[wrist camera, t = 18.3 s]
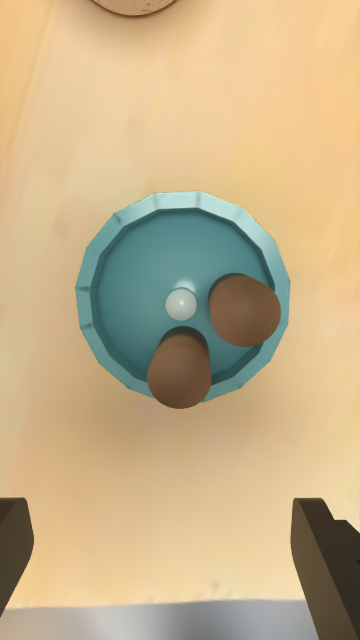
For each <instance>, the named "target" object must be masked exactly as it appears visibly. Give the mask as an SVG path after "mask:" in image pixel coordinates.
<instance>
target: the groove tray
mask: <svg viewBox="0 0 360 640" xmlns="http://www.w3.org/2000/svg"><path fill="white" fill-rule="evenodd" d="M229 273H241V274H245V275H247V276H249V277H251V278H253V279H255V280H258V281H260V282H262V283H264V284H266V285H267V286H269V287H270V288H271V289H272V290H273V291H274V292H275V294H276V295H277V297H278V299H279V302H280V306H281V318H280V322H279V325H278V327H277V329H276V331H275V332H274V333H273V334H272V336H271V337H270V338H268V339H267V340H266V341H264V342H263V343H261V344H258V345H256V346H251V347H238V346H234V345H231V344H229V343H227V342H226V341H224V340H223V339H222V338H221V337H220V336H219V335H218V334H217V332H216V331H215V329H214V327H213V324H212V320H211V315H210V310H209V305H208V293H209V290H210V288H211V286H212V285H213V283H214V282H215V281H216V280H217V279H218V278H220V277H221V276H223V275H225V274H229ZM75 289H76V298H77V306H78V315H79V323H80V329H81V331H82V333H83V334H84V336H85V338H86V340H87V342H88V344H89V346H90V347H91V349H92V351H93V353H94V355H95V357H96V359H97V360H98V363H100V364H101V365H102V366H103V367H104V368H105V369H106V370H108V371H109V372H110V373H111V374H112V375H113V376H115V377H116V378H117V379H118V380H119V381H120V382H122V383H123V384H124V385H125V386H126V387H127V388H129V389H131V390H134V391H137V392H139V393H142V394H145V395H147V396H150V397H153V398H155V397H154V396H153V395H152V393H151V391H150V389H149V387H148V383H147V373H148V369H149V366H150V364H151V362H152V359H153V357H154V355H155V352H156V350H157V348H158V345H159V343H160V341H161V339H162V337H163V335H164V334H165V333H166V332H167V331H169V330H170V329H172V328H175V327H178V326H188V327H192V328H194V329H196V330H198V331H199V332H200V333H202V335H203V336H204V337H205V339H206V341H207V343H208V349H209V359H210V368H211V378H212V380H211V387H210V390H209V392H208V394H207V395H206V397H205V398H204V399H203V400H202V401H201V402H205V401H207V400H210V399H213V398H215V397H218V396H220V395H223V394H226V393H228V392H231V391H234V390H236V389H239V388H241V387H242V386H243V385H244V384H245V383H246V382H248V381H249V380H250V379H251V378H252V377H253V376H254V375H255V374H256V373H257V372H259V371H260V370H261V369H262V368H263V367H264V366H265V365H266V364H267V363H269V362H270V361H271V358H272V356H273V354H274V352H275V350H276V348H277V346H278V344H279V342H280V340H281V338H282V335H283V333H284V331H285V329H286V327H287V325H288V315H289V295H290V279H289V277H288V274H287V271H286V269H285V266H284V264H283V261H282V258H281V256H280V253H279V250H278V248H277V245H276V242H275V240H274V239H273V238H272V237H271V236H270V235H269V234H268V233H267V232H266V231H265V230H264V229H263V228H262V227H261V226H260V225H259V224H258V223H257V222H256V221H255V220H254V219H253V218H252V216H251V215H250V214H249V213H248V212H247V211H246V210H245V209H244V208H243V207H240V206H237V205H235V204H232V203H230V202H227V201H225V200H222V199H219V198H217V197H214V196H212V195H209V194H207V193H204V192H202V191H187V192H167V193H153V194H151V195H150V196H148V197H146V198H144V199H142V200H140V201H138V202H136V203H134V204H132V205H130V206H128V207H126V208H124V209H122V210H120V211H118V212H116V213H114V214H113V216H112V217H111V218H110V219H109V221H108V222H107V223H106V224H105V225H104V227H103V228H102V229H101V230H100V232H99V233H98V234H97V235H96V236H95V238H94V239H93V240H92V241H91V243H90V244H89V245H88V246H87V248H86V252H85V255H84V259H83V262H82V266H81V269H80V273H79V276H78V280H77V283H76V287H75Z"/></svg>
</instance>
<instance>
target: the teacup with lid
mask: <svg viewBox="0 0 360 640" xmlns="http://www.w3.org/2000/svg"><path fill="white" fill-rule="evenodd" d="M94 1H95V2H97V3H98V4H99V5H101V6H102V7H104V8H106V9H108V10H110V11H113V12H116V13H119V14H124V15H143V14H148V13H151V12H154V11H157V10H159V9H161V8H163V7H165V6H167V5H168V4H170V3H171V2H172V1H174V0H94Z"/></svg>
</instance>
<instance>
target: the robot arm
mask: <svg viewBox="0 0 360 640" xmlns="http://www.w3.org/2000/svg"><path fill="white" fill-rule="evenodd" d="M33 545H34V535H33V530H32V525H31V520H30V514H29V509H28V504H27V501H26V499H25V498H0V617H1V615H2V613H3V611H4V609H5V607H6V605H7V603H8V601H9V599H10V597H11V595H12V593H13V591H14V590H15V588H16V586H17V584H18V582H19V580H20V578H21V576H22V574H23V572H24V570H25V568H26V566H27V564H28V562H29V560H30V557H31V554H32V550H33ZM291 550H292V556H293V561H294V564H295V568H296V571H297V574H298V577H299V580H300V583H301V586H302V589H303V592H304V595H305V598H306V601H307V604H308V607H309V610H310V613H311V616H312V619H313V622H314V625H315V628H316V631H317V634H318V637H319V640H360V533H359V532H358V531H357V530H356V529H355V528H354V527H353V526H352V525H351V524H350V523H348V522H347V521H346V520H334V518H333V516H332V514H331V512H330V511H329V509H328V507H327V505H326V503H325V502H324V500H323V499H322V498H294V500H293V509H292V524H291Z"/></svg>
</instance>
